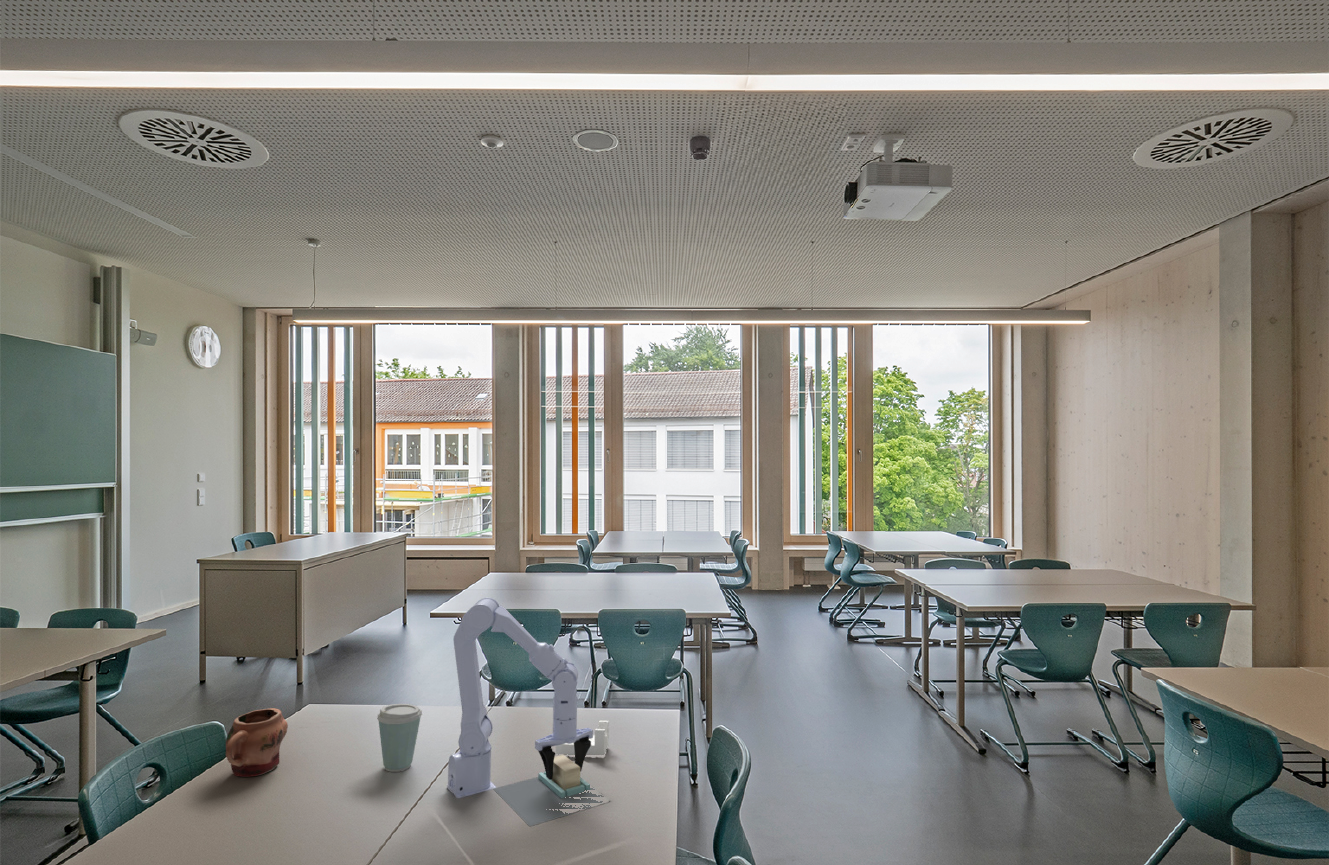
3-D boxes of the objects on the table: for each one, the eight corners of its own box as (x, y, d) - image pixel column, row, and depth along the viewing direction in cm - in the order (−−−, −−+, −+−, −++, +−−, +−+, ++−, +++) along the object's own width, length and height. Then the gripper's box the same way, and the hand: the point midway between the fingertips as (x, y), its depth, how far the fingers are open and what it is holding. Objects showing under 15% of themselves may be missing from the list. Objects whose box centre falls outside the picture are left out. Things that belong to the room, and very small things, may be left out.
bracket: (608, 748, 190) (608, 720, 191) (604, 759, 183) (604, 730, 184) (561, 747, 191) (562, 718, 192) (555, 757, 184) (556, 728, 185)
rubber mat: (529, 829, 147) (529, 826, 147) (492, 791, 164) (493, 788, 164) (611, 804, 158) (611, 801, 158) (569, 770, 175) (569, 768, 176)
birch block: (548, 778, 169) (548, 758, 170) (562, 775, 172) (563, 754, 172) (564, 793, 162) (565, 771, 162) (580, 788, 164) (580, 767, 165)
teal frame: (561, 798, 160) (561, 792, 160) (538, 778, 170) (538, 773, 170) (590, 789, 164) (590, 784, 164) (566, 770, 174) (566, 765, 174)
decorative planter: (256, 790, 163) (258, 730, 164) (202, 791, 163) (205, 730, 163) (297, 756, 183) (299, 702, 184) (250, 756, 183) (252, 702, 183)
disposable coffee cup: (406, 755, 184) (408, 697, 185) (429, 766, 178) (430, 706, 178) (367, 768, 176) (369, 707, 177) (390, 780, 169) (391, 717, 170)
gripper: (544, 727, 160) (543, 787, 160) (599, 715, 169) (598, 772, 168) (531, 718, 166) (530, 776, 165) (585, 707, 174) (584, 762, 174)
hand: (563, 774), depth 167 cm, fingers open, 7 cm apart
